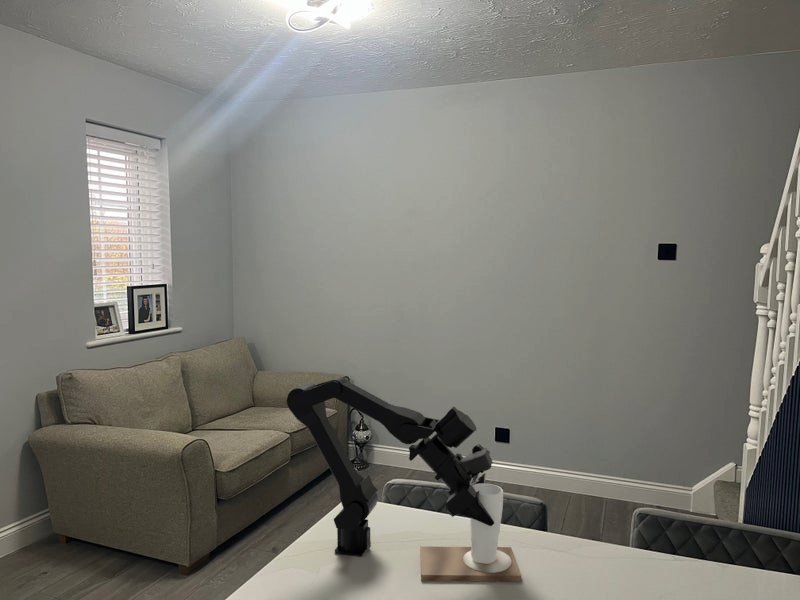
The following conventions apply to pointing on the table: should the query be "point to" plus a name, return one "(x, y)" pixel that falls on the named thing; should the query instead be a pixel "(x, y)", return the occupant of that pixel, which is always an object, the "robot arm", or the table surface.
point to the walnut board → (466, 565)
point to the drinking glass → (483, 534)
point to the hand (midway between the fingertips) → (494, 517)
